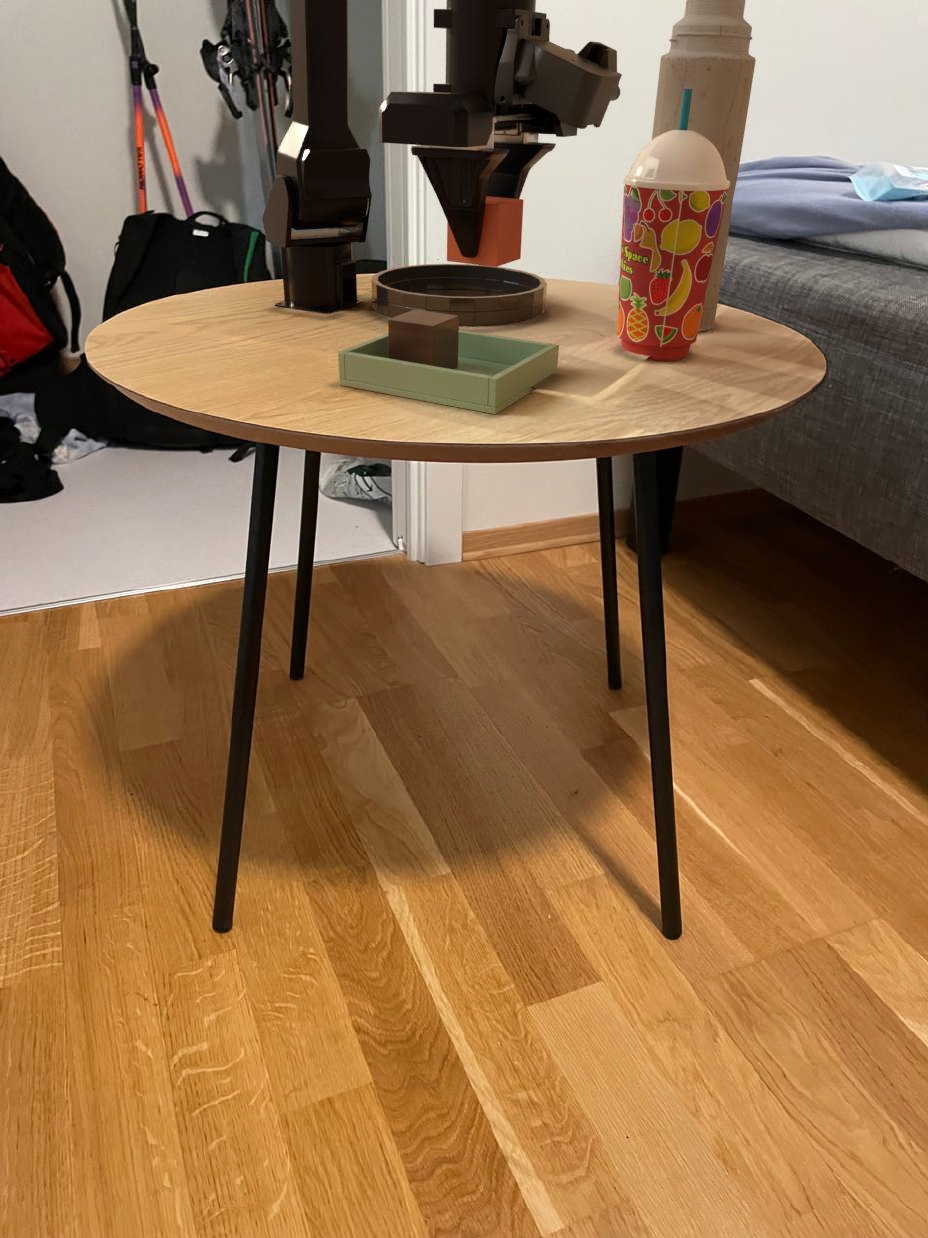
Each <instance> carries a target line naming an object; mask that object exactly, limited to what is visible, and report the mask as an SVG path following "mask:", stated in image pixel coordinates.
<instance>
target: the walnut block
mask: <svg viewBox="0 0 928 1238" xmlns="http://www.w3.org/2000/svg"><path fill="white" fill-rule="evenodd" d="M387 320H388V321H387V328H388V329H387V333H388V340H389V359H395V360H401V361H407V362H413V363H418V364H424V365H430V366H436V367H442V368H448V369H455V368H457V367H458V338H459V330H460V326H459V316H457V315H450V314H443V313H436V312H429V311H423V310H416V309H415V310H412V311H409V312H406V313H404V314H401V315H398V316H395V317H393V318H391V317H389V318H387Z"/></svg>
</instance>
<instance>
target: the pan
mask: <svg viewBox="0 0 928 1238" xmlns="http://www.w3.org/2000/svg"><path fill="white" fill-rule="evenodd" d="M547 288H548V283H547V281H546V279H545V278H543V277H542V276H539V275H538V274H535V273H531V272H528V271H525V270H520V269H516V268H509V267H503V266H498V267H493V266H484V265H476V264H467V263H429V264H425V263H424V264H414V265H404V266H399V267H398V266H397V267H392V268H388V269H385V270H381V271H378V272H376V273H375V274H373V275H372V277H371V307H372V308H373V309H374V311H375V312H377V313H378V314H380V315H383V316H386V317H388V318H393V317H395V316H398V315H401V314H404V313H406V312H409V311H412V310H415V309H416V310H423V311H429V312H436V313H443V314H450V315H457V316H459V327H494V326H504V325H512V324H517V323H522V322H528V321H530V320H531V321H532V320H533V319H536V318H538V317H540V316H542V314H544V312H545V311H546V307H547V305H546V303H547V290H548V289H547Z"/></svg>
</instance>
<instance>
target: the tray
mask: <svg viewBox="0 0 928 1238" xmlns="http://www.w3.org/2000/svg"><path fill="white" fill-rule="evenodd" d="M559 349H560V345H559V344H555V343H548V342H543V341H542V342H541V341H536V340H530V339H523V338H516V337H509V336H504V335H497V334H489V333H483V332H476V331H469V330H463V329H459V338H458V367H457V368H455V369H448V368H442V367H436V366H430V365H424V364H418V363H413V362H407V361H401V360H395V359H389V340H388V332H387V333H384V334H382V335H379V336H376V337H374V338H372V339H369V340H366V341H364V342H360V343H358V344H355V345H352V346H351V347H348V348H346V349H343V350H341V351H338V352H337V362H338V384H339V386H343V387H349V388H353V389H359V390H364V391H368V392H369V391H370V392H376V393H380V394H386V395H390V396H397V397H401V398H407V399H413V400H417V401H422V402H428V403H433V404H439V405H445V406H450V407H453V408H454V407H455V408H460V409H465V410H470V411H477V412H480V413H481V412H482V413H485V414H492V415H497V414H498V413H500V412H501V411H503V410H504V409H506V408H508V407H509V406H511V405H513V404H514V403H516V402H517V401H519V400H521V399H522V398H524V397H526V396H527V395H529V394H530V393H532V392H533V391H535V390H537V389H538V387H535V385H537V384H538V383H540V382H542V381H543V380H545V379H547V378H548V377H550V376H551V375H553V374H555V373H557V372H558V363H559V351H560V350H559Z"/></svg>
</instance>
